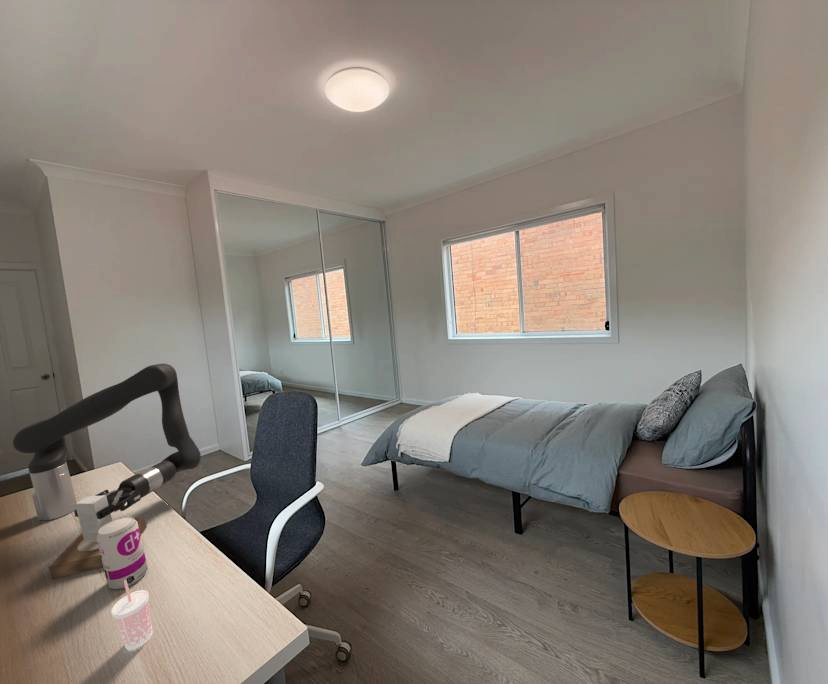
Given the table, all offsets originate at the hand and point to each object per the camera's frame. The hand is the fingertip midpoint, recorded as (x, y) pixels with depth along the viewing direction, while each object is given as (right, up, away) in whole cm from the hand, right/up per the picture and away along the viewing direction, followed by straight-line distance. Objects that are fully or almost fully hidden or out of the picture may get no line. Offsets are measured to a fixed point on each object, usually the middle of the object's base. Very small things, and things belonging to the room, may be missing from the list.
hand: (86, 515), depth 104 cm
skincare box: (+1, -8, +3) cm, 9 cm away
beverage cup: (+35, -13, -27) cm, 46 cm away
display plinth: (+2, -12, +4) cm, 13 cm away
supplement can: (+18, -12, -8) cm, 24 cm away
